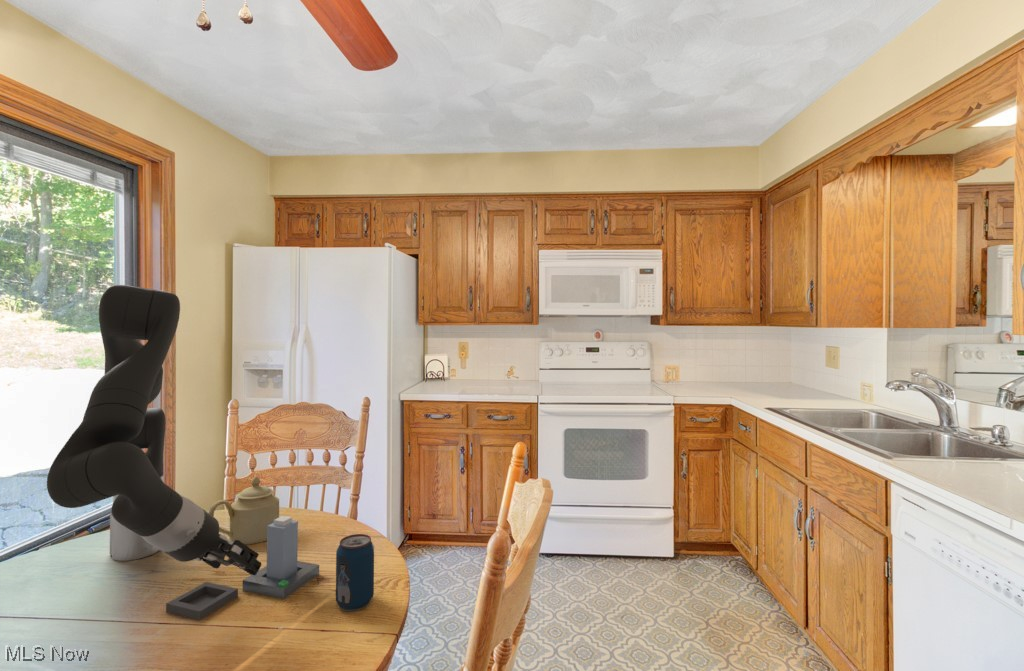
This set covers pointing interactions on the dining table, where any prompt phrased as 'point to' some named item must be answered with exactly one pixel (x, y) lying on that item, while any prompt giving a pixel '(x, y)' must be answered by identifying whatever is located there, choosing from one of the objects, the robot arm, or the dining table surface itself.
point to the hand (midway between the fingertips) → (238, 566)
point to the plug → (282, 548)
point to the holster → (202, 600)
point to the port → (278, 587)
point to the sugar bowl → (250, 513)
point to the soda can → (354, 572)
